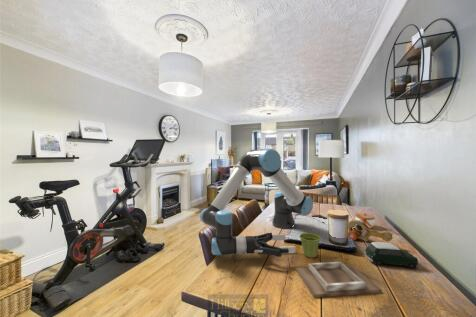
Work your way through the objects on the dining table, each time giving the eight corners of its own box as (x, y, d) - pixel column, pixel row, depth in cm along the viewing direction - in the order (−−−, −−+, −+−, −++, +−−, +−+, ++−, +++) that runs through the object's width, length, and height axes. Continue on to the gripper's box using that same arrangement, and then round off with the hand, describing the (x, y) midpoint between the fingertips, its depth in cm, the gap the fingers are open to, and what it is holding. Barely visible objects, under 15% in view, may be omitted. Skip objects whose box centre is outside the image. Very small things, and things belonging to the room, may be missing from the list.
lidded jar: (375, 231, 121) (375, 216, 121) (355, 228, 127) (354, 213, 127) (374, 226, 130) (374, 212, 130) (355, 223, 136) (355, 210, 136)
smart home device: (320, 214, 154) (338, 222, 134) (320, 216, 154) (338, 225, 134) (310, 215, 152) (328, 223, 133) (310, 217, 152) (328, 226, 133)
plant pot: (298, 257, 91) (298, 239, 91) (300, 248, 100) (300, 231, 100) (320, 261, 87) (320, 242, 87) (320, 251, 96) (320, 234, 96)
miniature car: (421, 270, 80) (420, 251, 80) (371, 266, 84) (371, 247, 84) (407, 259, 88) (407, 241, 88) (362, 255, 92) (362, 238, 92)
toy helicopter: (351, 234, 117) (350, 211, 117) (394, 246, 101) (394, 219, 101) (345, 238, 112) (344, 214, 112) (390, 251, 95) (389, 223, 95)
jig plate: (313, 297, 65) (313, 288, 65) (295, 270, 81) (295, 262, 81) (381, 292, 67) (381, 283, 67) (350, 266, 83) (350, 259, 83)
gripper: (242, 241, 103) (281, 239, 105) (248, 267, 79) (300, 265, 80) (242, 227, 103) (281, 225, 105) (248, 249, 79) (300, 246, 80)
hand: (289, 242), depth 93 cm, fingers open, 13 cm apart
